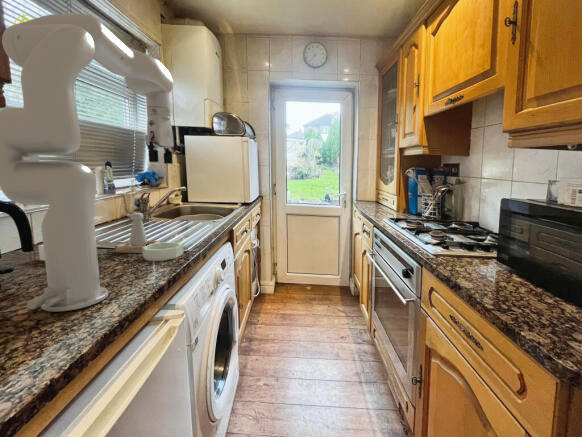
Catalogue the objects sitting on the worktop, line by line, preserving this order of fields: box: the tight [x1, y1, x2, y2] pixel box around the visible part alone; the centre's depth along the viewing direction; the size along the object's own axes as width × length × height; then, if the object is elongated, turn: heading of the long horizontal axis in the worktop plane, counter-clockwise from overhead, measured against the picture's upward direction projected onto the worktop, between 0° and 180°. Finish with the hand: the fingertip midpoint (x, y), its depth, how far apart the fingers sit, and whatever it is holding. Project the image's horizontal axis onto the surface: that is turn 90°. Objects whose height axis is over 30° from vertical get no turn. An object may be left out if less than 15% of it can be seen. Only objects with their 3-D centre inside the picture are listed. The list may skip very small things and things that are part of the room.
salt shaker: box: [129, 212, 148, 247], centre depth 110 cm, size 6×6×13 cm
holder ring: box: [142, 241, 184, 262], centre depth 102 cm, size 12×12×4 cm
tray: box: [114, 240, 162, 254], centre depth 111 cm, size 11×11×2 cm
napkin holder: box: [37, 244, 45, 261], centre depth 97 cm, size 15×11×6 cm
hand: (161, 162), depth 109 cm, fingers open, 9 cm apart
